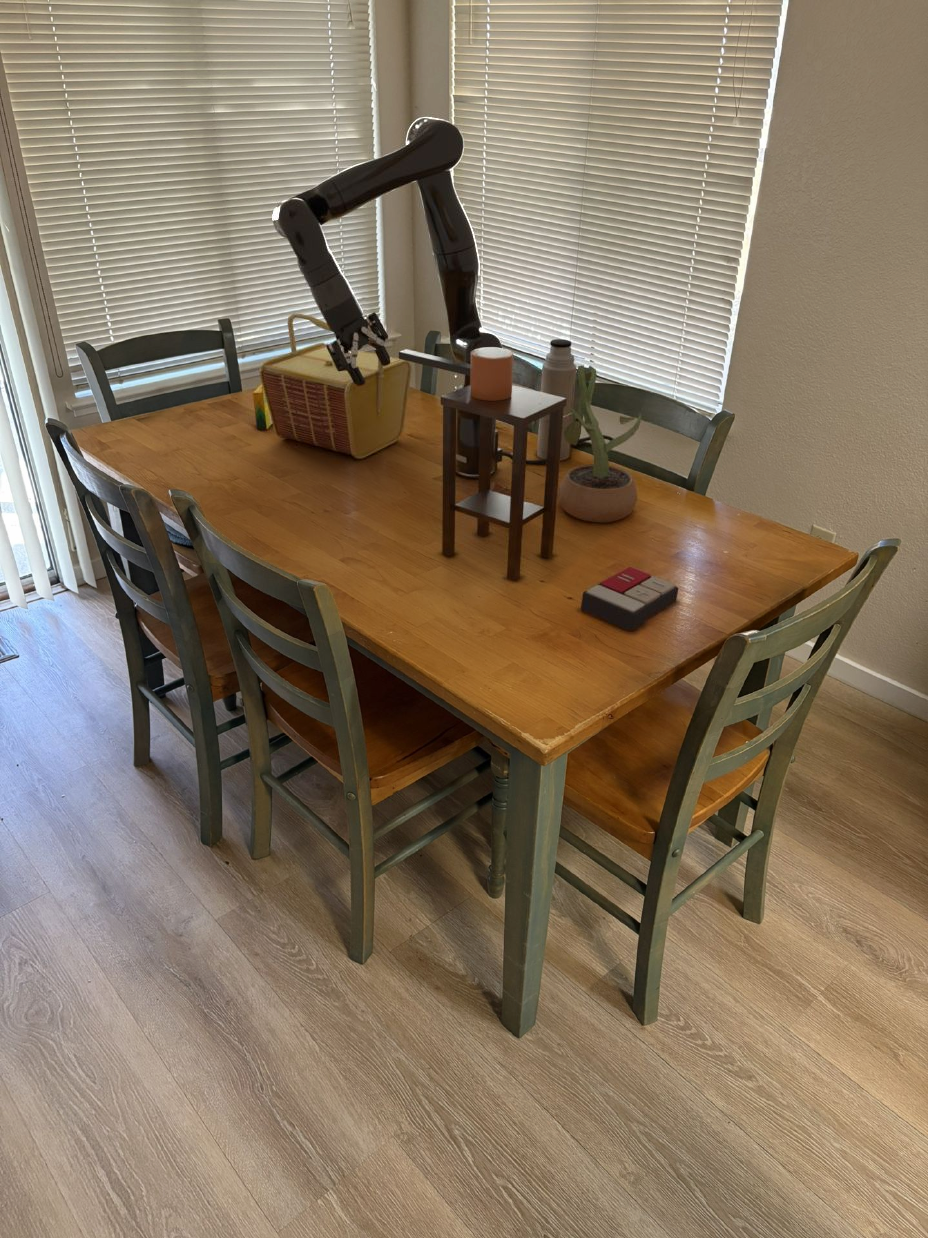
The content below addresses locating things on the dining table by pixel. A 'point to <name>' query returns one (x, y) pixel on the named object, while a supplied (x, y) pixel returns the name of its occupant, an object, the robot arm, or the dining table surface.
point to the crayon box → (261, 409)
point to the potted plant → (596, 467)
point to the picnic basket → (335, 398)
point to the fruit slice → (500, 489)
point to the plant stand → (500, 507)
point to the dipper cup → (476, 370)
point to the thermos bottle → (557, 391)
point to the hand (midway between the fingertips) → (374, 374)
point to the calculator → (629, 598)
